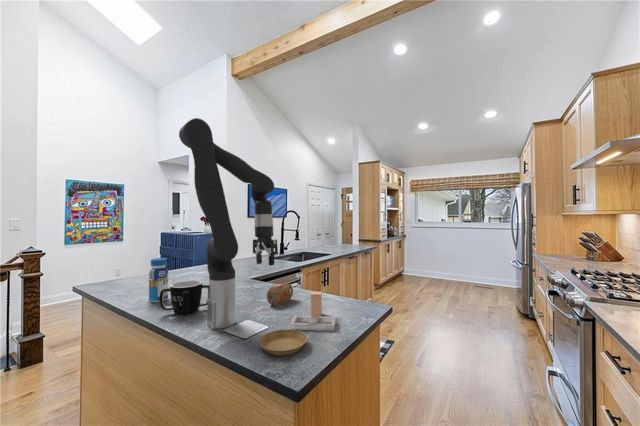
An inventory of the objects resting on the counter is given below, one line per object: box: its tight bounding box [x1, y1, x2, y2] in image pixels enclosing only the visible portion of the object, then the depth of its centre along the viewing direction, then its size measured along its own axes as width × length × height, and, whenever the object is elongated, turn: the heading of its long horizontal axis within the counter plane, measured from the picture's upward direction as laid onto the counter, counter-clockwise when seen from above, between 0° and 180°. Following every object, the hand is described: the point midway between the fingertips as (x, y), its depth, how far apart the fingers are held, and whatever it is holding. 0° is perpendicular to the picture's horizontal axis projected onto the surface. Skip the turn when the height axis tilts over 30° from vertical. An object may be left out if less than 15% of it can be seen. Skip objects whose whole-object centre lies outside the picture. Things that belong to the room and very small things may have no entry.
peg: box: [310, 291, 323, 317], centre depth 111 cm, size 4×4×9 cm
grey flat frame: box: [289, 315, 336, 332], centre depth 100 cm, size 16×8×2 cm, turn 85°
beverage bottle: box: [148, 257, 170, 303], centre depth 132 cm, size 8×8×20 cm
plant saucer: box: [258, 328, 308, 357], centre depth 84 cm, size 15×15×3 cm
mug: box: [159, 280, 209, 316], centre depth 115 cm, size 16×16×12 cm
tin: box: [266, 282, 294, 307], centre depth 127 cm, size 15×3×8 cm, turn 143°
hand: (265, 264), depth 113 cm, fingers open, 8 cm apart
